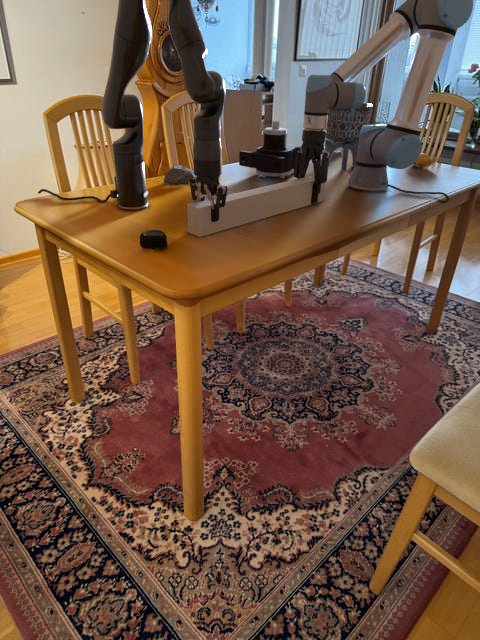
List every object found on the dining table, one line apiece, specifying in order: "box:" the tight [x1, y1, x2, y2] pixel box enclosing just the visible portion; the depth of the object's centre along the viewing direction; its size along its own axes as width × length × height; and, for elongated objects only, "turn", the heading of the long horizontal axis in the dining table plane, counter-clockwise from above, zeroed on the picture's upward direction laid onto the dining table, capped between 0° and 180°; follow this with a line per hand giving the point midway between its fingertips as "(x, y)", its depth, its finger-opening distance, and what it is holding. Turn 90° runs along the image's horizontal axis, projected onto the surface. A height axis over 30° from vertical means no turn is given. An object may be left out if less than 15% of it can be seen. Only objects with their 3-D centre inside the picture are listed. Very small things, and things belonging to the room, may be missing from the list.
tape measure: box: [139, 229, 168, 250], centre depth 117 cm, size 7×7×4 cm
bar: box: [186, 174, 326, 238], centre depth 142 cm, size 56×5×8 cm, turn 134°
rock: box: [163, 163, 197, 186], centre depth 176 cm, size 13×9×6 cm, turn 131°
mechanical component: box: [238, 120, 304, 179], centre depth 191 cm, size 22×21×30 cm
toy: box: [412, 152, 435, 169], centre depth 214 cm, size 11×6×15 cm
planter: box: [324, 102, 374, 172], centre depth 204 cm, size 20×20×26 cm
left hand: (208, 218), depth 129 cm, fingers closed on bar, 5 cm apart
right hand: (307, 200), depth 158 cm, fingers closed on bar, 5 cm apart
